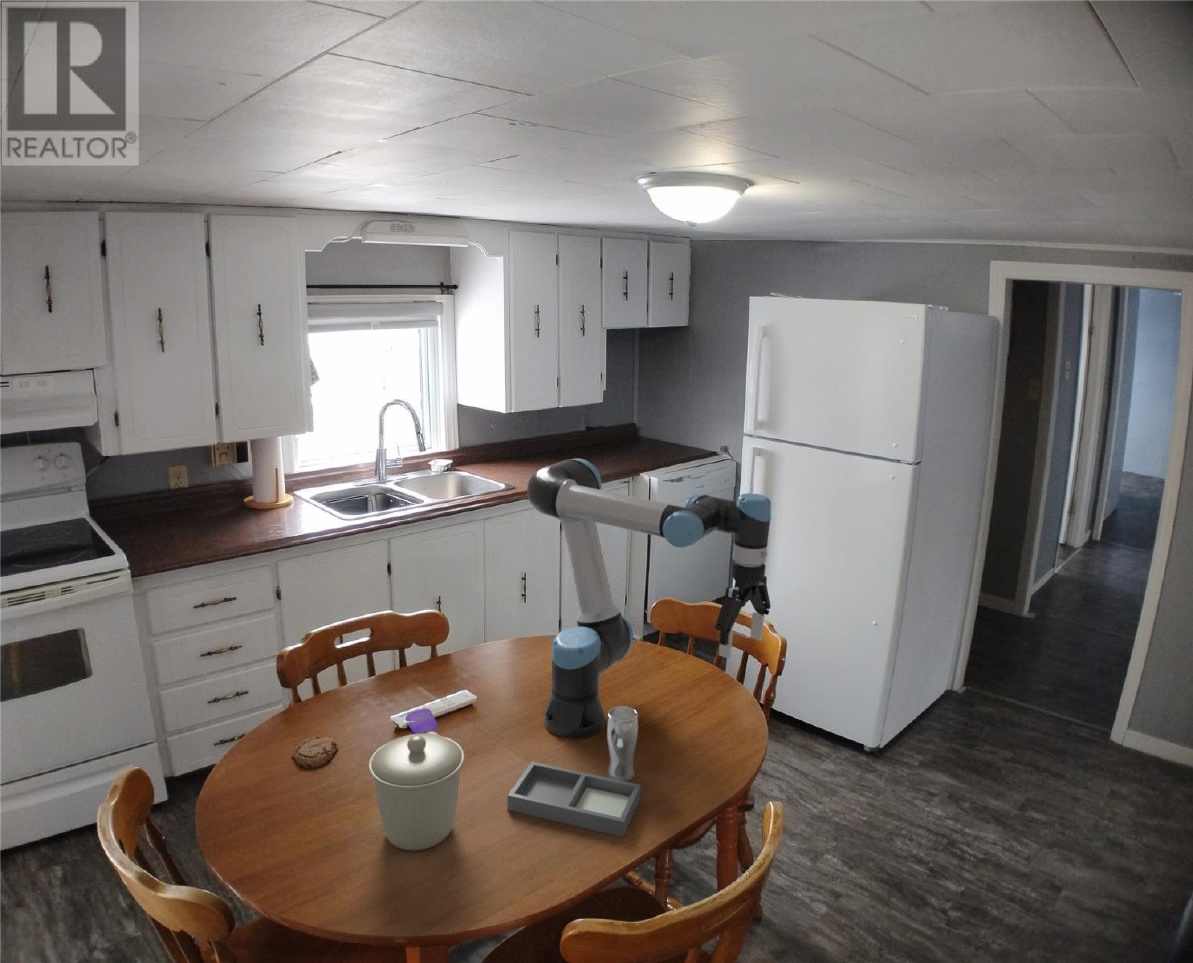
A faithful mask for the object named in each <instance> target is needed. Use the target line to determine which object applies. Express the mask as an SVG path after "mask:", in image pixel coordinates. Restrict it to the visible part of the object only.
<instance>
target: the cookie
mask: <svg viewBox="0 0 1193 963" xmlns="http://www.w3.org/2000/svg"><path fill="white" fill-rule="evenodd" d="M338 749H339V745H338V742H336V740H334V739H333V738H329V737H322V736H320V735H315V736H311V737H310V738H307V739H304V740H302V741H301V742H299V743H298V745H297V746H295V748H293V750H292V752H291V754H292V756H293V758H294V759H295V760H294V762H295V763H296V765H298V766H301V767H303V768H305V769H309V768H312V769H314V768H318V767H321V766H323V765H326V763H328V761H331V759H332V758H333V756H334V755H335V752H337V751H338Z"/></svg>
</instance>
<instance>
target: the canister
mask: <svg viewBox="0 0 1193 963" xmlns="http://www.w3.org/2000/svg"><path fill="white" fill-rule="evenodd" d="M464 761H465V751H464V749H463V747H461V745H459V743H458V742H456V741H455V740H454V739H451V738H449V737H446V736H443V735H439V734H438V735H435V734H426V733H419V734H414V733H412V734H407V735H404V736H403V735H402V736H400V737H397V738H395V739H392V740H390V741H388V742H386V743H385V744H383V745H382V746H380V747H379V748H377V750H375V752H373V754H372V755H371V757H370V759H369V761H368V771H369V773H370V775H371V776H372V778H373V783H374V788H375V793H376V800H377V806H378V812H379V816H380V822H381V826H382V831H383V833H384V835H385V837H386V839H387V840H388V841H389V842H390V844H392V845H393V846H394V847H396V848H400V850H405V851H422V850H427V849H430V848H432V847H435V846H436V845H439V844H440V843H441V842H443V841H444V840H445V839H446V838H448V835H449V834H450V832H451V830H452V828H453V827H454V824H455V823H454V822H455V818H456V812H457V804H458V798H459V796H458V794H459V785H460V778H461V777H460V776H461V768H462V767H463V764H464Z"/></svg>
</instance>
